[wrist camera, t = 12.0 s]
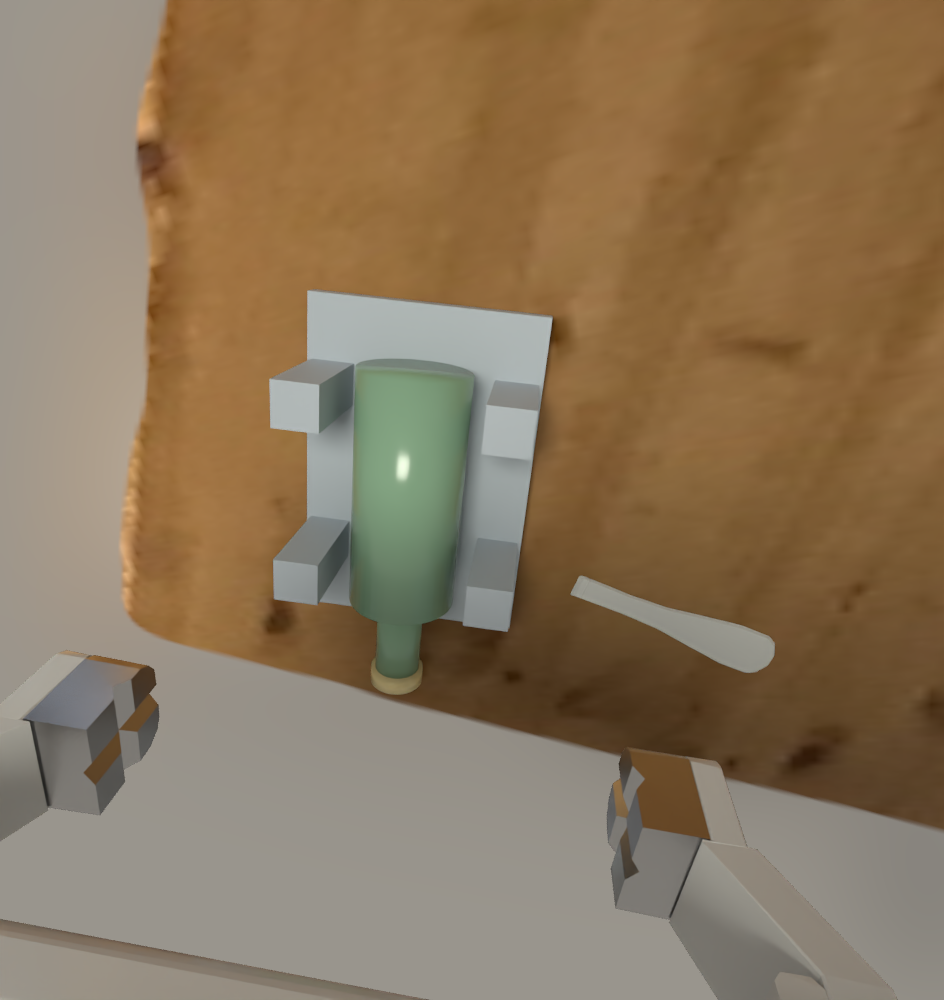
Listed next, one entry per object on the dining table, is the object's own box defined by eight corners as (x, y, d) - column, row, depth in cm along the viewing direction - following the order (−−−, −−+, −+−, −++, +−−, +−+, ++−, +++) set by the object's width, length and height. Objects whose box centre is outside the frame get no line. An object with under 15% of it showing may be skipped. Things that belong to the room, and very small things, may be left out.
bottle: (372, 354, 30) (340, 373, 25) (480, 366, 29) (467, 389, 25) (361, 643, 36) (333, 702, 31) (451, 656, 35) (436, 718, 31)
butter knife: (757, 684, 35) (786, 642, 34) (341, 524, 34) (357, 476, 33) (754, 679, 35) (783, 638, 34) (343, 521, 34) (359, 473, 33)
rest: (314, 289, 30) (262, 299, 24) (552, 315, 29) (554, 331, 24) (313, 590, 36) (270, 654, 30) (510, 618, 35) (504, 687, 30)
